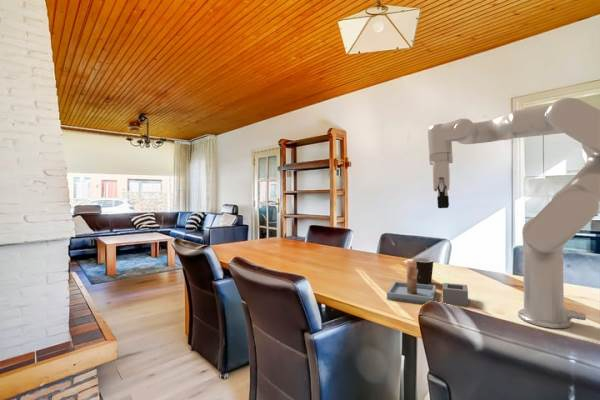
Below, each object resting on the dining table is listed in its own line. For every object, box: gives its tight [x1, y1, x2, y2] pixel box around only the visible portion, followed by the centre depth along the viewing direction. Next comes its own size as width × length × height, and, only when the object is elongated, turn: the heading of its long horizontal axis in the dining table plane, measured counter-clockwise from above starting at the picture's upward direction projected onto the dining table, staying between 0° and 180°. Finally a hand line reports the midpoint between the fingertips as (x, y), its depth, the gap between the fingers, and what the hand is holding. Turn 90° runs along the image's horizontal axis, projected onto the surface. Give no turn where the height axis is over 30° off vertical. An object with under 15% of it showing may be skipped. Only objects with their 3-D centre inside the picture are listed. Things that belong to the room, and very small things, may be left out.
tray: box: [386, 281, 437, 305], centre depth 119 cm, size 16×16×2 cm
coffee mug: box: [412, 257, 434, 285], centre depth 137 cm, size 12×9×10 cm
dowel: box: [406, 260, 417, 294], centre depth 119 cm, size 4×4×12 cm
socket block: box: [442, 282, 469, 306], centre depth 112 cm, size 8×8×5 cm
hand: (443, 207), depth 109 cm, fingers open, 9 cm apart
